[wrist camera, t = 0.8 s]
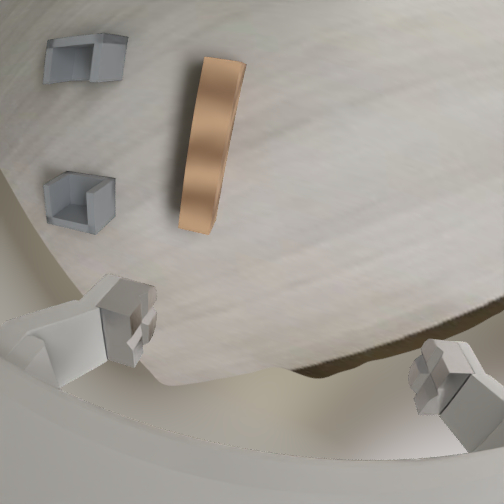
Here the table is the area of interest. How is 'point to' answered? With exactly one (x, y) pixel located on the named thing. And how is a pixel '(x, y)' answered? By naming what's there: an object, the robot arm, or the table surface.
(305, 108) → the table surface
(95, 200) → the endcap
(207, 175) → the slat
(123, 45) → the endcap
